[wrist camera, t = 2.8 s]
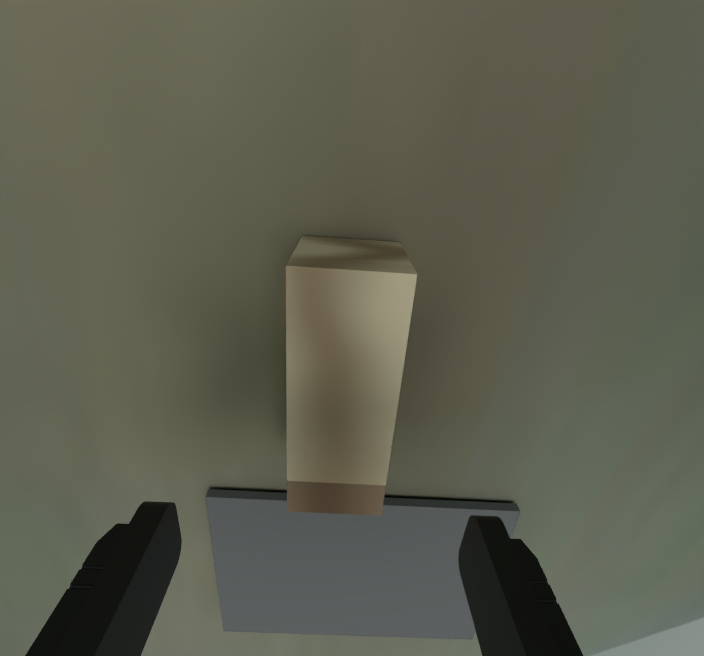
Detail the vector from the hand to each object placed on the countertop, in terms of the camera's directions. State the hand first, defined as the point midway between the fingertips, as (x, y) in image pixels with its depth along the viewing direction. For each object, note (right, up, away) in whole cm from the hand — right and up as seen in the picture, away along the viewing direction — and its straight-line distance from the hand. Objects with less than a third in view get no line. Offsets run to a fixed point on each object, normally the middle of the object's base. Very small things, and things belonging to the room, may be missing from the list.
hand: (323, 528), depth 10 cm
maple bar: (0, +4, +10) cm, 10 cm away
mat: (+1, -12, +17) cm, 21 cm away
